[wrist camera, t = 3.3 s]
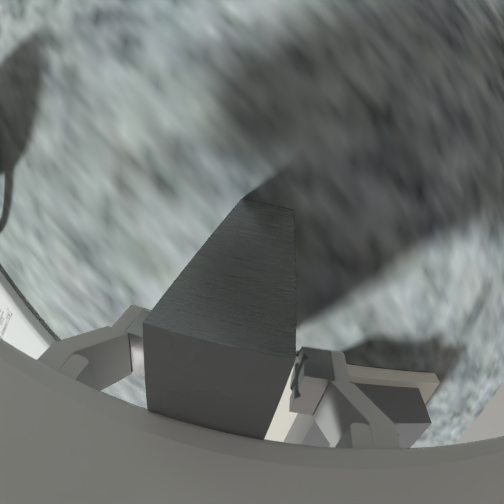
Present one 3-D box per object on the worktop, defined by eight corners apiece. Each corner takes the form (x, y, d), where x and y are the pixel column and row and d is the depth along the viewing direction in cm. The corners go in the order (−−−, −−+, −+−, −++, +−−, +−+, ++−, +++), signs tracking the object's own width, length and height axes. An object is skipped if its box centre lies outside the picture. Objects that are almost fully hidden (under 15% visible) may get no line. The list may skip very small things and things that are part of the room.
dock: (290, 355, 16) (287, 427, 12) (435, 373, 16) (460, 431, 11) (248, 465, 22) (239, 514, 17) (354, 475, 21) (357, 520, 16)
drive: (239, 198, 14) (138, 320, 4) (293, 209, 14) (295, 359, 4) (217, 338, 17) (158, 496, 7) (259, 348, 17) (228, 514, 7)
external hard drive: (66, 399, 23) (-14, 306, 21) (98, 375, 21) (1, 260, 18) (58, 409, 22) (-24, 314, 19) (88, 388, 19) (-13, 268, 17)
